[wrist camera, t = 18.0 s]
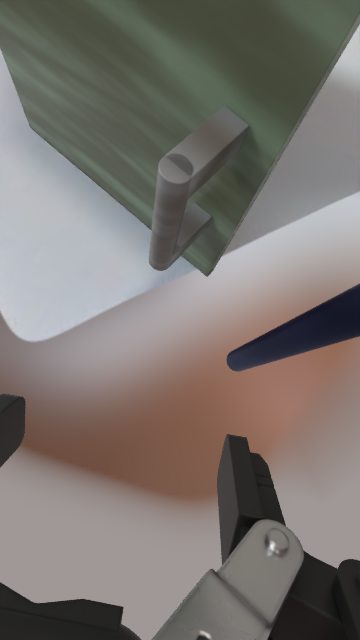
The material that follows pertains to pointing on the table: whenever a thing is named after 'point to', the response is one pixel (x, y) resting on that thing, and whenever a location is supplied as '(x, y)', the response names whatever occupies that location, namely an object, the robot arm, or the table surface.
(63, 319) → the table surface
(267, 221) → the table surface
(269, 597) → the robot arm
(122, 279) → the table surface
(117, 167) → the cupboard door
